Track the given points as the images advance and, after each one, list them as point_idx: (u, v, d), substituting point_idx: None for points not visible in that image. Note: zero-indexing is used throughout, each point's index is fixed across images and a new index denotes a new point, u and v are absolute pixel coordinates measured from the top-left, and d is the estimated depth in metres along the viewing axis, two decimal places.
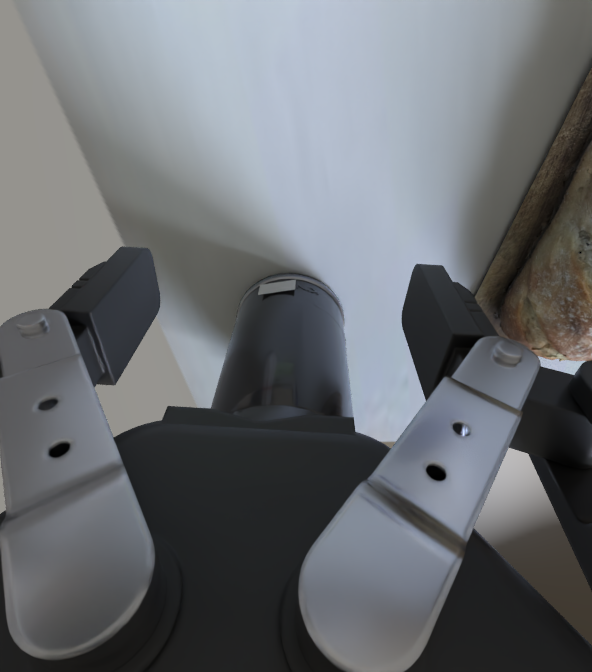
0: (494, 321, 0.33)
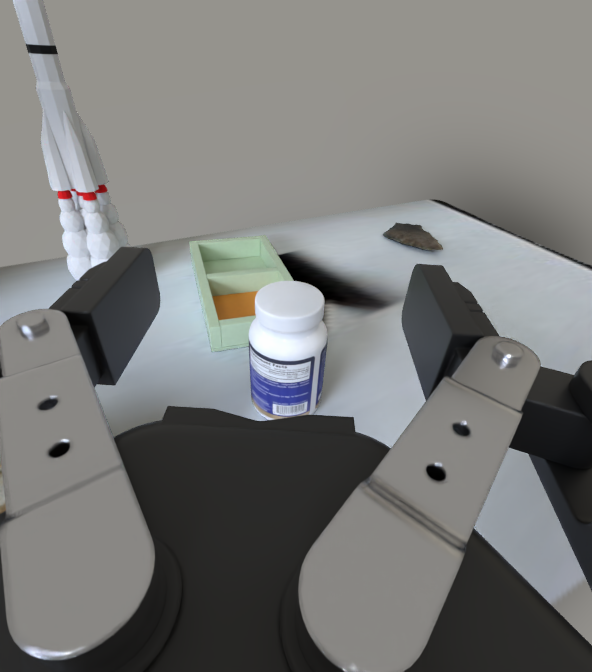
0: None
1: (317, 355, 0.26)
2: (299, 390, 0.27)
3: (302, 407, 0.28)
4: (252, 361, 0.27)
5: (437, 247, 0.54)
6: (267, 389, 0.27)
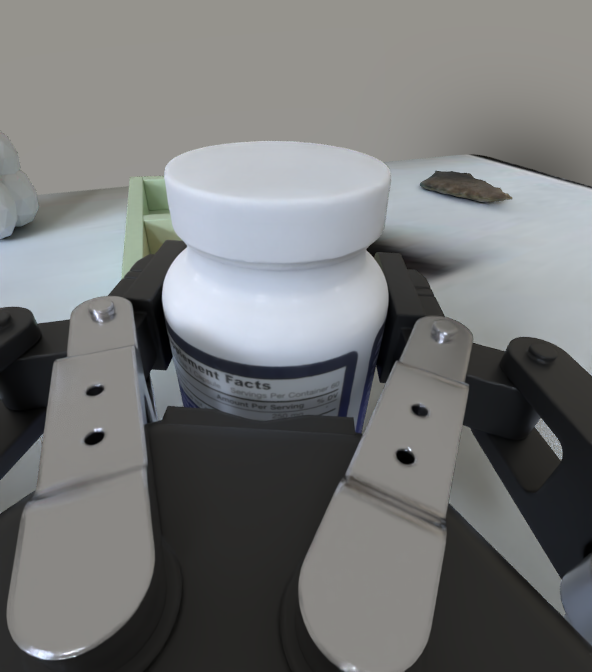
0: None
1: (364, 347, 0.08)
2: None
3: None
4: (176, 366, 0.09)
5: (504, 196, 0.37)
6: None
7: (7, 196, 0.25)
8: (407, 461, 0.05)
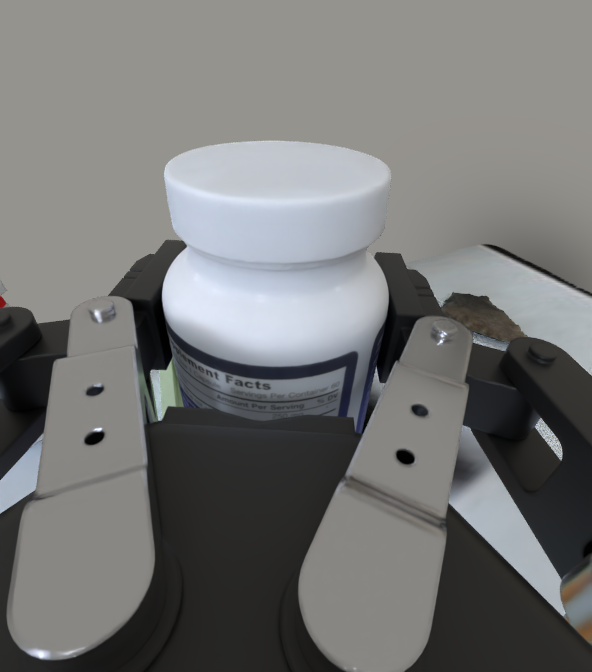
0: None
1: (363, 347, 0.08)
2: None
3: None
4: (176, 366, 0.09)
5: None
6: None
7: None
8: (407, 461, 0.05)
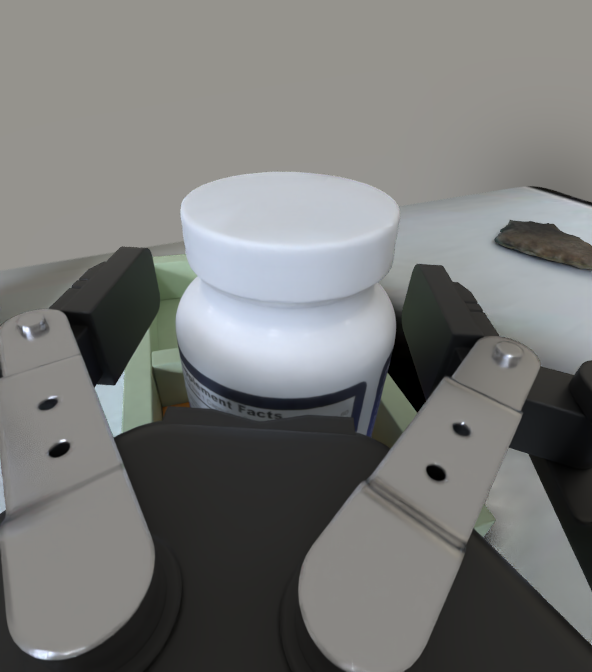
0: None
1: (373, 377, 0.08)
2: None
3: None
4: (188, 391, 0.10)
5: None
6: None
7: None
8: (438, 478, 0.05)
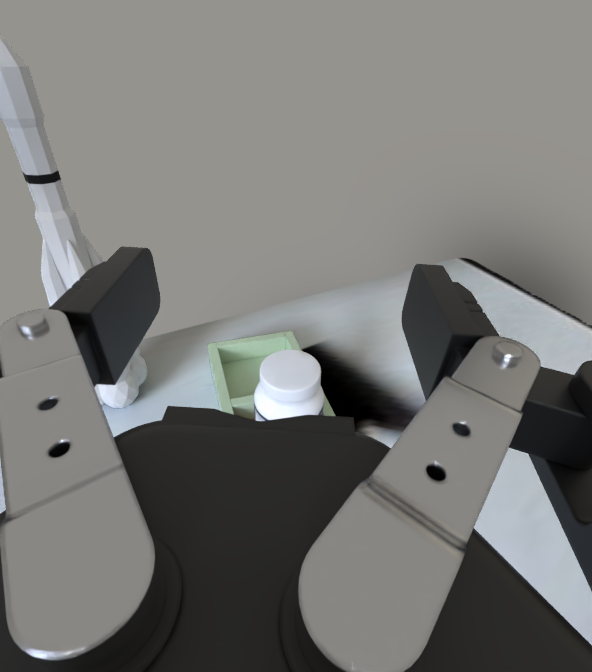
0: None
1: None
2: None
3: None
4: None
5: None
6: None
7: (135, 380, 0.37)
8: (438, 478, 0.05)
